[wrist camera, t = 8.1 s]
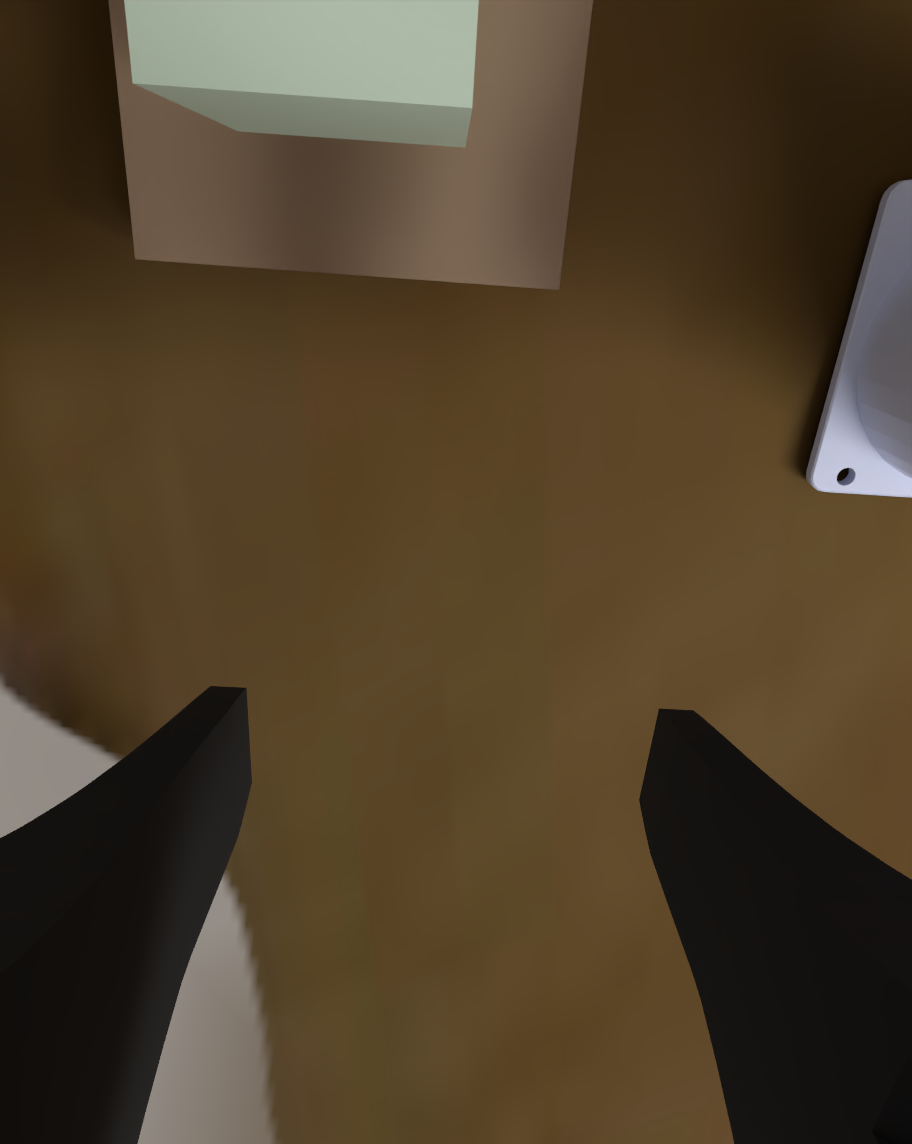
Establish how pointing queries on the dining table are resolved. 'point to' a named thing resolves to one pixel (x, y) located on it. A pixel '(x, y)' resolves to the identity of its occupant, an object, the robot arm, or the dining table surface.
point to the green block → (313, 65)
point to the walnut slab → (375, 172)
